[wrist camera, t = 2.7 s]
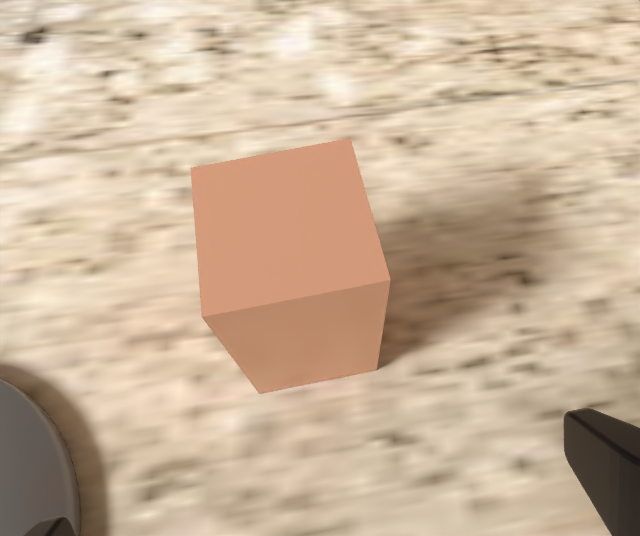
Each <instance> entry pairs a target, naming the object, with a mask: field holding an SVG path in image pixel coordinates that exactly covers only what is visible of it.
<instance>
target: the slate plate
mask: <svg viewBox="0 0 640 536" xmlns="http://www.w3.org/2000/svg"><path fill="white" fill-rule="evenodd" d="M59 516H65V517H67V518H68V519H69V520H70V522H71V524H72V526H73V529H74V531H75V533H76V536H80V499H79V493H78V486H77V480H76V474H75V470H74V467H73V464H72V460H71V457H70V454H69V451H68V448H67V446H66V444H65V442H64V440H63V438H62V436H61V434H60V432H59V430H58V428H57V427H56V425H55V424H54V422H53V421H52V420H51V418H50V417H49V415H48V414H47V413H46V411H45V410H44V409H43V408H42V407H41V406H40V405H39V404H38V403H37V402H36V401H35V400H34V399H33V398H32V397H30V396H29V395H27V394H26V393H25V392H23V391H22V390H20V389H19V388H17V387H16V386H14V385H12V384H10V383H8V382H6V381H4V380H1V379H0V536H23V535H24V534H25V533H27V532H28V531H29V530H30V529H31V528H32V527H33V526H35V525H36V524H37V523H38V522H40V521H42V520H44V519H49V518H54V517H59Z"/></svg>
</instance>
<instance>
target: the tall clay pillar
mask: <svg viewBox="0 0 640 536" xmlns="http://www.w3.org/2000/svg"><path fill="white" fill-rule="evenodd" d="M191 179H192V193H193V206H194V219H195V232H196V245H197V258H198V272H199V285H200V298H201V311H202V318H203V319H204V320H205V322H206V323H207V324H208V326H209V327H210V328H211V330H212V331H213V332H214V334H215V335H216V336H217V338H218V339H219V340H220V342H221V343H222V344H223V346H224V347H225V348H226V350H227V351H228V353H229V354H230V355H231V357H232V358H233V359H234V361H235V362H236V363H237V365H238V366H239V367H240V369H241V370H242V371H243V373H244V374H245V375H246V377H247V378H248V379H249V381H250V382H251V383H252V385H253V386H254V387H255V389H256V390H257V391H258V393H259V394H261V393H266V392H271V391H276V390H281V389H286V388H291V387H296V386H301V385H306V384H311V383H316V382H321V381H325V380H330V379H335V378H340V377H345V376H350V375H355V374H360V373H365V372H370V371H375V370H377V365H378V359H379V352H380V346H381V340H382V333H383V327H384V321H385V314H386V308H387V302H388V295H389V289H390V283H391V279H390V275H389V272H388V268H387V265H386V261H385V258H384V254H383V251H382V247H381V244H380V240H379V237H378V233H377V230H376V226H375V223H374V219H373V216H372V212H371V209H370V205H369V202H368V198H367V195H366V191H365V188H364V184H363V181H362V177H361V174H360V170H359V167H358V163H357V160H356V156H355V153H354V149H353V146H352V142H351V139H350V138H349V139H344V140H339V141H333V142H328V143H322V144H317V145H312V146H306V147H301V148H295V149H290V150H285V151H279V152H274V153H269V154H263V155H258V156H252V157H247V158H242V159H236V160H231V161H225V162H220V163H215V164H209V165H204V166H199V167H193V168H191Z"/></svg>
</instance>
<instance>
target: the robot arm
mask: <svg viewBox="0 0 640 536" xmlns="http://www.w3.org/2000/svg"><path fill="white" fill-rule="evenodd" d="M564 451H565V455H566V458H567V461H568V463H569V465H570V466H571V468H572V470H573V471H574V473H575V475H576V476H577V478H578V480H579V481H580V483H581V485H582V486H583V488H584V490H585V491H586V493H587V495H588V497H589V498H590V500H591V502H592V503H593V505H594V507H595V508H596V510H597V512H598V513H599V515H600V517H601V518H602V520H603V522H604V523H605V525H606V527H607V528H608V530H609V532H610V533H611V535H612V536H640V428H639V427H636V426H634V425H631V424H628V423H626V422H623V421H621V420H618V419H616V418H613V417H611V416H608V415H606V414H603V413H601V412H598V411H596V410H593V409H590V408H582V409H578V410H573V411H568V412H567V413H566V414H565V416H564ZM23 536H76V533H75V531H74V529H73V526H72V524H71V522H70V520H69V519H68V518H67V517H65V516H59V517H54V518H49V519H44V520H42V521H40V522H38V523H37V524H36V525H35V526H33V527H32V528H31V529H30V530H29V531H28V532H27V533H25V534H24V535H23Z"/></svg>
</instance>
